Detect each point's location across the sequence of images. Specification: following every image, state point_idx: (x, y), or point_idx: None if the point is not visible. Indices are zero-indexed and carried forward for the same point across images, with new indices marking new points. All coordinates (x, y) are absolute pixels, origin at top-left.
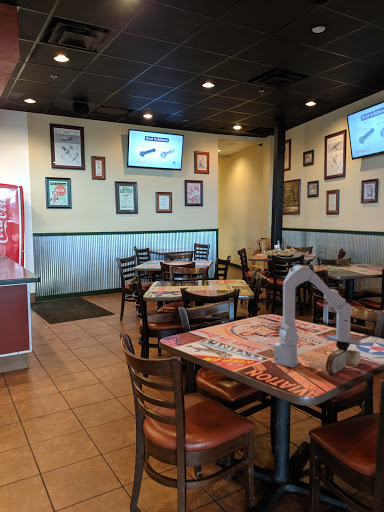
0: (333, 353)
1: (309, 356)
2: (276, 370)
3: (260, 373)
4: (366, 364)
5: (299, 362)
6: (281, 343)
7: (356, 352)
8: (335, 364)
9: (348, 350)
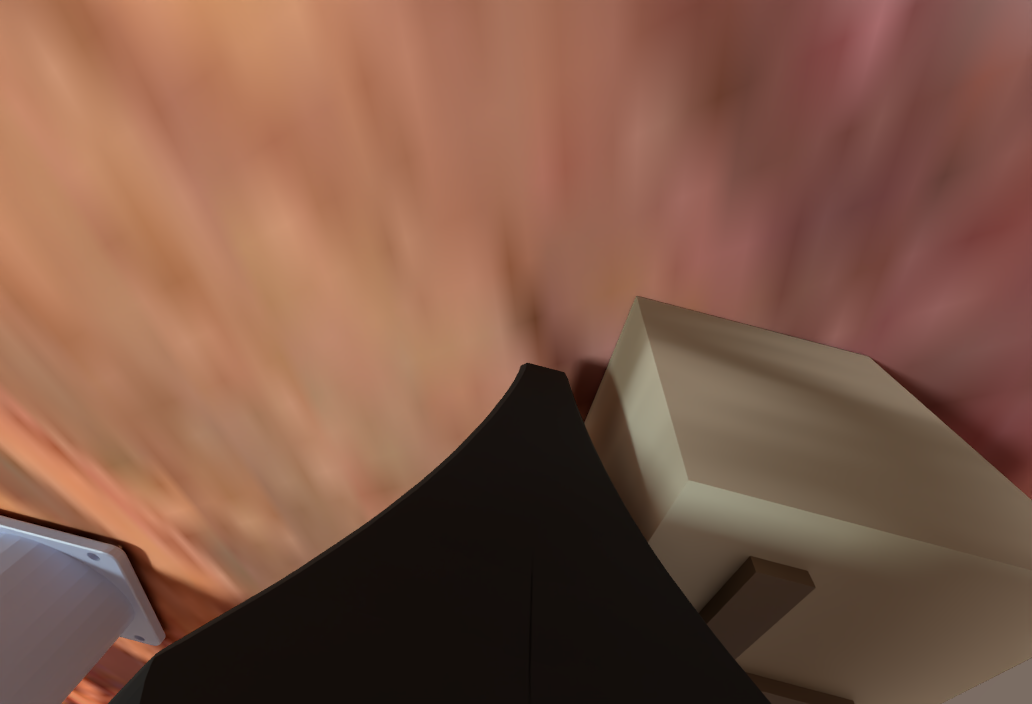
0: None
1: (10, 320)
2: (127, 667)
3: (103, 697)
4: (987, 403)
5: (124, 574)
6: None
7: (929, 658)
8: None
9: (680, 564)
